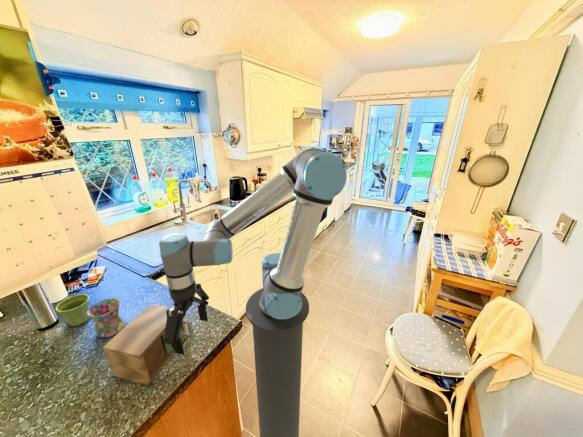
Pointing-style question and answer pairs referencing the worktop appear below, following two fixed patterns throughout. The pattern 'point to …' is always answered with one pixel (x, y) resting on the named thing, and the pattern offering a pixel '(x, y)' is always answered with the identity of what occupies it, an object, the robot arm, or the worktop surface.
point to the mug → (106, 317)
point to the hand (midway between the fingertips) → (192, 335)
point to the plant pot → (74, 309)
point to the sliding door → (181, 334)
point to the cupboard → (140, 346)
